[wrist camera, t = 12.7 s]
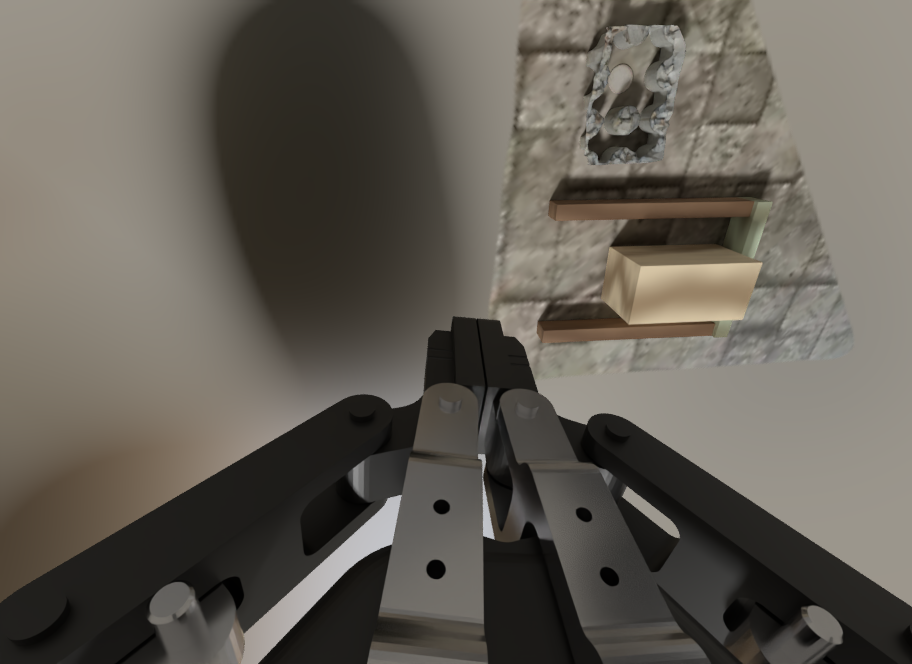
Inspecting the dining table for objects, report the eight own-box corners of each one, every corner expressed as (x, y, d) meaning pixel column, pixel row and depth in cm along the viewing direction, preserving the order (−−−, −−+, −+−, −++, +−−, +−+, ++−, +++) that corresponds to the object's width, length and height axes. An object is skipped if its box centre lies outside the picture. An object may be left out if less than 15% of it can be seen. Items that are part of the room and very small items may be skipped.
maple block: (609, 246, 44) (641, 266, 38) (714, 243, 45) (762, 262, 39) (600, 297, 47) (628, 324, 40) (699, 294, 48) (742, 319, 41)
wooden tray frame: (549, 200, 41) (559, 205, 38) (750, 197, 43) (772, 201, 40) (536, 332, 48) (543, 344, 45) (710, 325, 49) (726, 336, 47)
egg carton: (586, 29, 35) (606, 18, 31) (670, 31, 36) (698, 20, 32) (570, 163, 40) (586, 166, 36) (644, 162, 40) (667, 166, 37)
